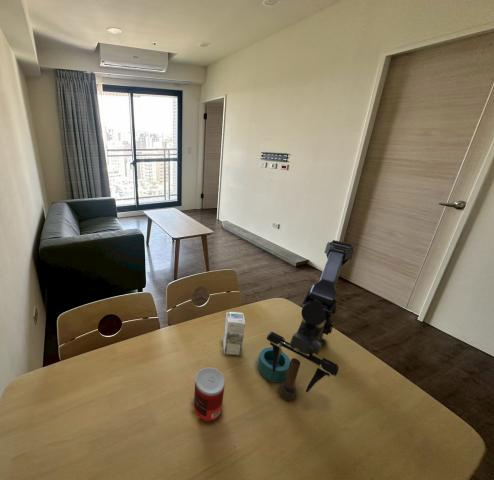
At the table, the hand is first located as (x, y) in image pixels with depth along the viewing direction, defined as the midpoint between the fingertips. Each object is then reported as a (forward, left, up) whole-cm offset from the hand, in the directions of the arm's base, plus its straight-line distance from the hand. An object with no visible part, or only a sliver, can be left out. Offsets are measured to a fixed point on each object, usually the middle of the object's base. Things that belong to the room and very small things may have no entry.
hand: (289, 381), depth 71 cm
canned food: (+22, -8, -7) cm, 24 cm away
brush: (-1, 0, -7) cm, 7 cm away
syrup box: (+2, -21, -7) cm, 23 cm away
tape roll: (-4, -8, -7) cm, 12 cm away
